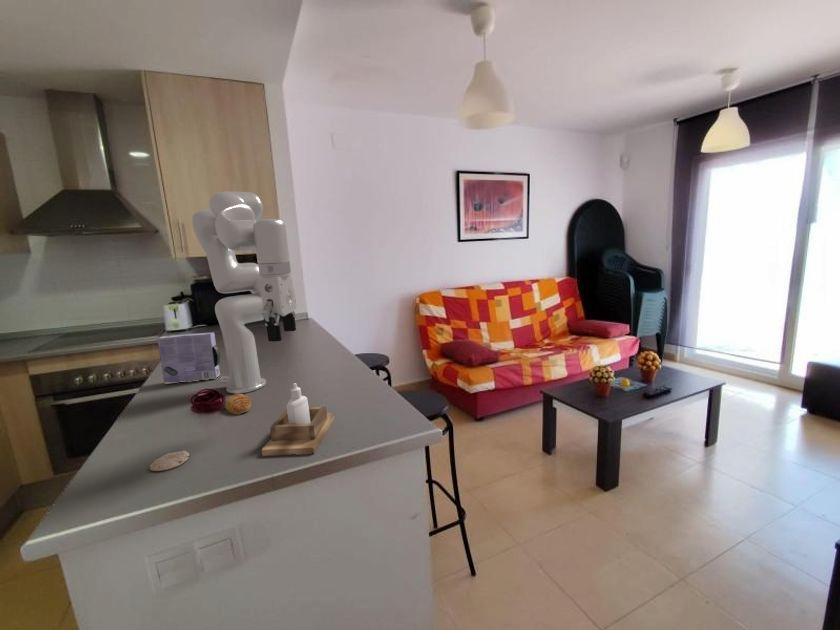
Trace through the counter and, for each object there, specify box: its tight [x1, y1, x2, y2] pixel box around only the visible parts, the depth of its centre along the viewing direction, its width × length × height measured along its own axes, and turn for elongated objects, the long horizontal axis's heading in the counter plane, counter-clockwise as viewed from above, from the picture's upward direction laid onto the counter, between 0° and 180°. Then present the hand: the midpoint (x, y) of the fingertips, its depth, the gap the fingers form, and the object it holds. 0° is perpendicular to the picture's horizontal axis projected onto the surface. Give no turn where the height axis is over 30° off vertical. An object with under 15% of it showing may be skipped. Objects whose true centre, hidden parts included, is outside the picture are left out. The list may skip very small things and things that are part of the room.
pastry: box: [225, 393, 252, 415], centre depth 114 cm, size 9×7×4 cm
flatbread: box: [149, 449, 190, 472], centre depth 88 cm, size 8×8×1 cm
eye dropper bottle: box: [286, 382, 311, 424], centre depth 95 cm, size 4×6×12 cm
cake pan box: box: [157, 331, 221, 384], centre depth 142 cm, size 19×5×18 cm, turn 100°
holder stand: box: [261, 406, 336, 457], centre depth 95 cm, size 12×18×5 cm, turn 178°
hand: (283, 335), depth 100 cm, fingers open, 9 cm apart
